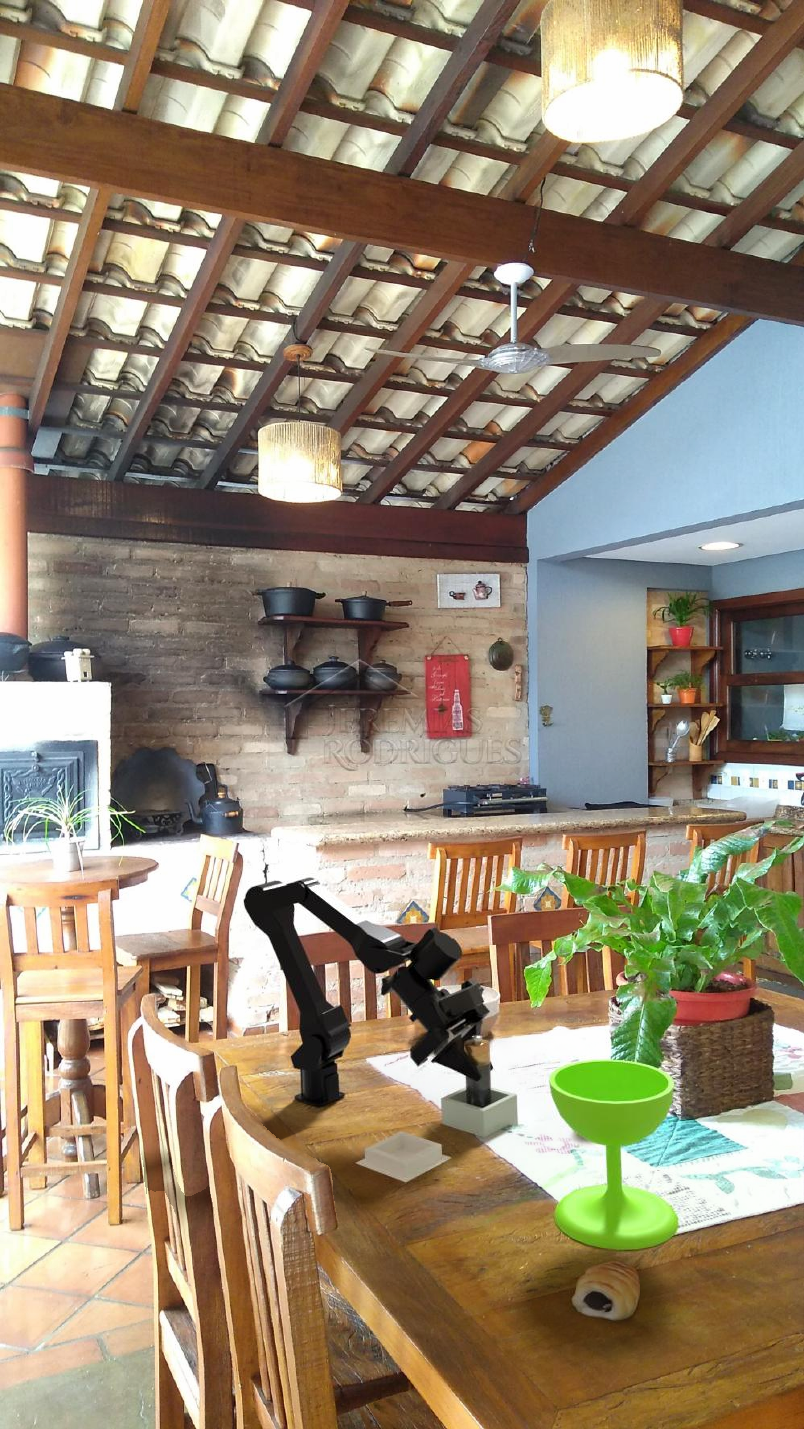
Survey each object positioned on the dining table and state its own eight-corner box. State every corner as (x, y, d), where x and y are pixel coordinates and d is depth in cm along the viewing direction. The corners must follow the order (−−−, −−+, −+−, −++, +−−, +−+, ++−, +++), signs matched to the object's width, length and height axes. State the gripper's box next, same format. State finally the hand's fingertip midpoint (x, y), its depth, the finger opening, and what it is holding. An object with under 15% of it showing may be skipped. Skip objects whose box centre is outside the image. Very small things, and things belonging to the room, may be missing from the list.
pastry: (597, 1272, 123) (596, 1240, 123) (653, 1287, 120) (652, 1253, 120) (569, 1314, 115) (568, 1279, 115) (628, 1330, 112) (627, 1295, 112)
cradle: (355, 1169, 153) (355, 1149, 153) (401, 1147, 160) (401, 1127, 160) (406, 1189, 146) (405, 1167, 146) (451, 1164, 153) (451, 1144, 153)
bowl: (504, 1044, 207) (503, 1004, 207) (424, 1046, 207) (422, 1007, 207) (498, 1020, 223) (497, 983, 223) (423, 1022, 223) (422, 985, 223)
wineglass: (531, 1205, 140) (526, 1072, 140) (630, 1180, 146) (625, 1052, 146) (598, 1262, 125) (593, 1112, 125) (705, 1231, 131) (700, 1089, 131)
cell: (465, 1116, 164) (462, 1040, 164) (467, 1106, 168) (465, 1032, 168) (490, 1117, 164) (488, 1041, 164) (492, 1107, 168) (490, 1033, 168)
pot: (442, 1129, 166) (441, 1098, 166) (475, 1113, 172) (474, 1083, 172) (484, 1143, 160) (483, 1111, 160) (517, 1125, 166) (516, 1094, 166)
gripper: (424, 981, 160) (492, 1062, 154) (477, 954, 176) (540, 1027, 171) (382, 1025, 164) (447, 1107, 158) (437, 995, 180) (497, 1068, 175)
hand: (485, 1075), depth 165 cm, fingers closed on cell, 4 cm apart
